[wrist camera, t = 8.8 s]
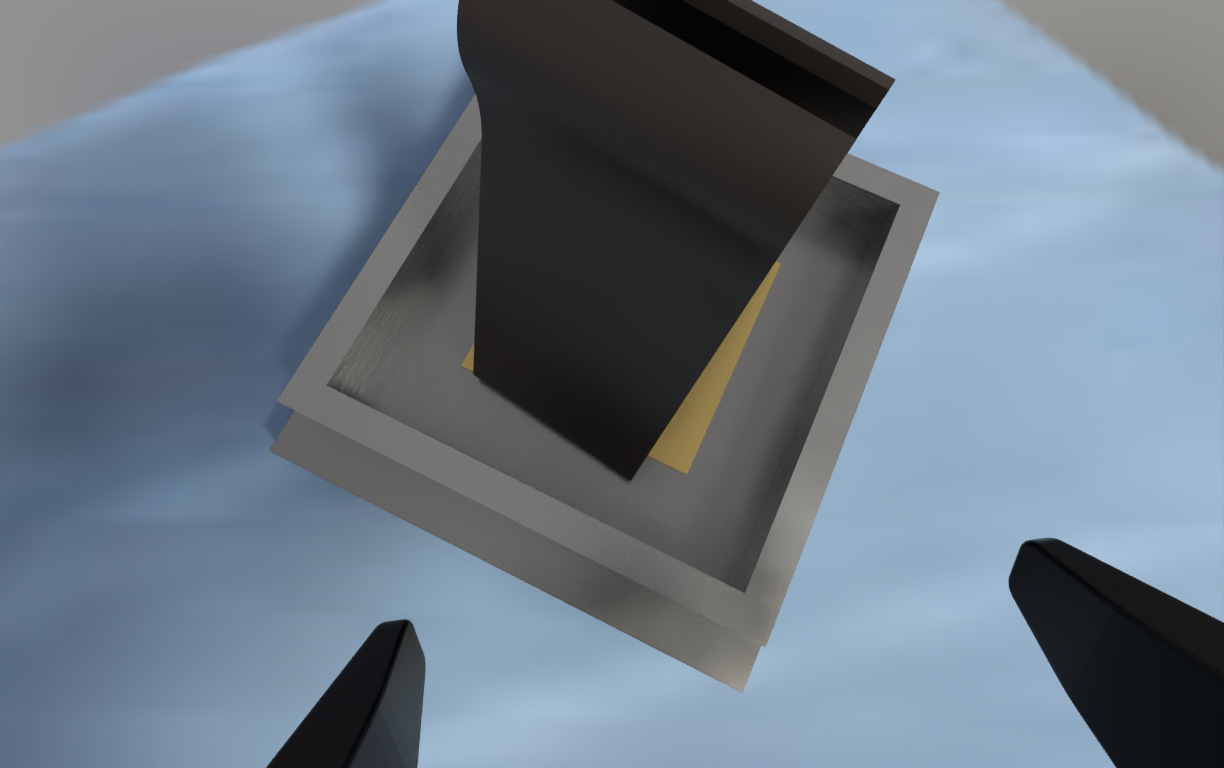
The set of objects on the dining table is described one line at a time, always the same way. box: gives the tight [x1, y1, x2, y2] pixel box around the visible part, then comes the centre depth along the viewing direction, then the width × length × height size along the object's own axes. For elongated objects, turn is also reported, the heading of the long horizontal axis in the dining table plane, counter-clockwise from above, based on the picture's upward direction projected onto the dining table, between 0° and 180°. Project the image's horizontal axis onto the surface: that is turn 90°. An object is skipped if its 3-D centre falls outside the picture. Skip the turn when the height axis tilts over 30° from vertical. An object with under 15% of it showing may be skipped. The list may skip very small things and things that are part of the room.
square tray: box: [269, 94, 940, 693], centre depth 19 cm, size 18×16×3 cm
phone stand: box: [457, 0, 895, 481], centre depth 14 cm, size 9×6×12 cm, turn 146°
